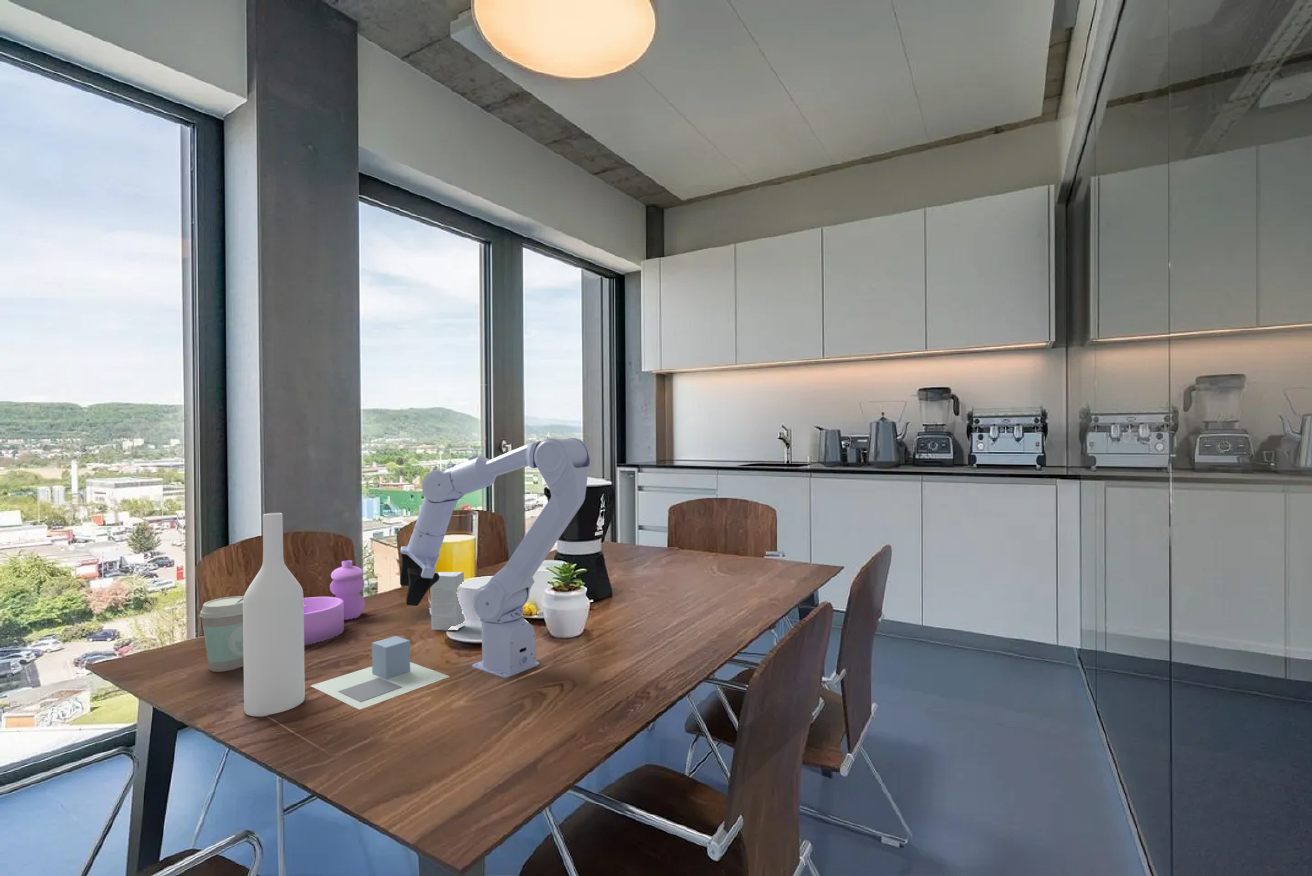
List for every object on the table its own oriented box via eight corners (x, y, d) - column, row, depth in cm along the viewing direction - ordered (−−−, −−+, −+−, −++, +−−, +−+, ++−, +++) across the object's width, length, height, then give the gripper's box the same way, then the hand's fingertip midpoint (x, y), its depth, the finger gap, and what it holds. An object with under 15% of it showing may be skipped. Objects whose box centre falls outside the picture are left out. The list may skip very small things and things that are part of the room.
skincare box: (465, 625, 138) (464, 571, 138) (457, 631, 133) (456, 576, 133) (439, 625, 138) (438, 571, 138) (430, 631, 134) (429, 575, 134)
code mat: (450, 678, 107) (450, 676, 107) (359, 711, 94) (359, 709, 94) (398, 659, 117) (398, 657, 117) (310, 687, 104) (310, 685, 104)
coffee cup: (228, 676, 109) (227, 608, 109) (187, 673, 111) (187, 606, 111) (267, 659, 118) (266, 596, 118) (229, 656, 120) (228, 594, 120)
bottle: (258, 722, 91) (255, 518, 91) (234, 709, 96) (232, 515, 96) (314, 702, 98) (312, 512, 98) (290, 691, 103) (287, 509, 103)
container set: (307, 650, 123) (307, 583, 123) (242, 645, 126) (242, 581, 126) (386, 614, 148) (385, 559, 148) (330, 611, 151) (329, 557, 151)
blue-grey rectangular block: (410, 671, 110) (409, 640, 110) (386, 679, 106) (385, 647, 106) (396, 666, 112) (395, 636, 112) (372, 674, 109) (371, 642, 109)
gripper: (402, 511, 121) (382, 574, 123) (415, 543, 109) (392, 612, 111) (438, 517, 125) (418, 578, 127) (454, 548, 113) (431, 615, 115)
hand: (408, 594), depth 119 cm, fingers open, 7 cm apart
